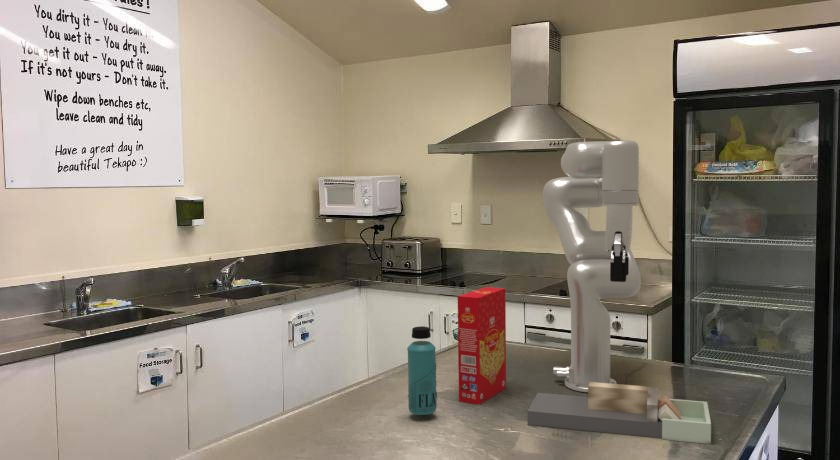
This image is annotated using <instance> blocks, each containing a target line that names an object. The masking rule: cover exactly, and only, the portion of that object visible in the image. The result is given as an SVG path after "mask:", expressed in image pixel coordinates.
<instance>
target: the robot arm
mask: <svg viewBox="0 0 840 460" xmlns="http://www.w3.org/2000/svg"><path fill="white" fill-rule="evenodd" d="M639 147H640V146H639V144H638V142H636V141H634V140H610V141H609V140H608V141H605V140H603V141H599V140H598V141H597V140H596V141H578V142H572V143H569V144H568V145H567V147H566V148H565V151H564V152H563V154H562V156H561V159H560V168H561V169H562V172H564V174H565V175H567V176H564V177H563V176H561V177H557V178H553V179H550V180H549V181H547V182H545V185H544V187H543V189H542V201H543V207H544V209H545V214H546V215H547V217H548V219H549V221H550V222H551V224H552V225H553V227H554V228H555V229H556V231H557V233H558V237H559V239H560V242H561V246H562V250H563V253H564V255H565V258H566V260H567V263H568V264H569V267H568V269H567V273H566V275H567V276H566V278H567V279H566V280H567V285H568V292H569V300H570V337H571V338H570V366H565V367H562V366H553V370H552V371H553V374H554V375H556V377H566V378H564V385H565V387H567V388H568V389H570V390H573V391H577V392H581V393H582V392H583V393H588V385H589V382H596V383H609V384H618V383H617V381H616V380H615V379H614V378H611V315H610V313H609V310H608V309H607V308H606V306H604V305H603V303H602V302H601V299H612V298H613V299H614V298H617V299H618V298H621V299H622V298H629V297H630V298H631V297H634V296H635V295H637V294H638V293H639V291H640V289H641V286H642V277H641V272H640V269H639V266H638V264H637V261H636V259H635V255H634V254H633V251H632V250H631V243H632V238H633V237H632V236H633V235H632V234H633V207H637V206H639V190H640V189H639V173H640V171H639V169H640V166H639V164H640V162H639V159H640V158H639V156H640V151H639V150H640V148H639ZM601 207H606V210H605V211H606V213H605V230H594V229H592V228H591V224H590V222H589V221H588V219H587V218H586V217H585V216H584V215H583V214H582V213H580V212H579V211H578V210H577V209H580V208H582V209H583V208H585V209H586V208H591V209H592V208H601Z"/></svg>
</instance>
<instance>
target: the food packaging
mask: <svg viewBox="0 0 840 460" xmlns="http://www.w3.org/2000/svg"><path fill="white" fill-rule="evenodd" d="M506 307H507V306H506V288H502V287H490V286H485V287H482V288H479V289H476V290H473V291H470V292H466V293H463V294H461V295H457V345H458V346H457V349H458V352H457V353H458V354H457V355H458V359H457V360H458V362H457V364H458V366H457V367H458V402H461V403H467V404H471V403H472V404H473V405H477V404H478V406H479V404H480V405H481V404H483V403H484V402H486V401H488V400H490V399H491V398H493V397H494V396H496V395H498V394H499V393H501V392H502V391H504V390H505V389H507V344H506V343H507V334H506V333H507V328H506V327H507V326H506V324H507V323H506V322H507V320H506V319H507V317H506V315H507V314H506V313H507V311H506V310H507V309H506ZM487 399H488V400H487Z"/></svg>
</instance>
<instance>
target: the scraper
mask: <svg viewBox="0 0 840 460" xmlns="http://www.w3.org/2000/svg"><path fill="white" fill-rule="evenodd" d="M587 397H588V409H594V410H605V411H616V412H627V413H638V414H647V422H656V423H657V417H658V400H659V388H658V387H649V386H644V385H635V384H634V385H633V384H621V383H620V384H619V383H617V384H609V383H596V382H589V385H588V392H587Z"/></svg>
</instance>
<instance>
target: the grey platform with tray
mask: <svg viewBox="0 0 840 460" xmlns="http://www.w3.org/2000/svg"><path fill="white" fill-rule="evenodd" d="M669 400H670V401H671V402H672V403H673V404H674V405H675V406H676V408H677V409H678V410H679V411H680V416H681V419H680V420H676V419H665V418H662V421H661V420H660V419H659V418H658V417H657V423H656V422H647V414H638V413H627V412H616V411H605V410H594V409H588V396H581V395H579V396H578V395H569V394H556V393H545V392H537V393H536V395H535V397H534V399H533V400H532V402H531V404H530V406H529V407H528V409H527V412H526V414H527V416H526V417H527V425H528V426H538V427H547V428H556V429H567V430H578V431H585V432H586V431H587V432H596V433H606V434H614V435H615V434H616V435H617V434H618V435H625V436H634V437H635V436H637V437H645V438H654V439H655V438H656V439H657V438H658V439H661V440H667V441H678V442H687V443H688V442H689V443H696V444H707V445H711V444H712V422H711V421H712V420H711V417H710V411H709V404H708V401H703V400H702V401H699V400H689V399H680V398H679V399H678V398H677V399H676V398H669ZM658 409H659V408H658Z"/></svg>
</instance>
